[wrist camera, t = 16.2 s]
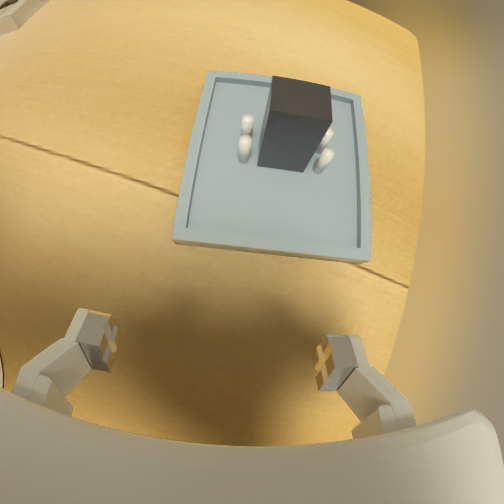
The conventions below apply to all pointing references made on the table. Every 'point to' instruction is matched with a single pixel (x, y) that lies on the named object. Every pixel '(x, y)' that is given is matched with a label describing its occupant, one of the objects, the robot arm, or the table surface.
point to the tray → (273, 180)
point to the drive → (293, 123)
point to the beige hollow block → (17, 13)
